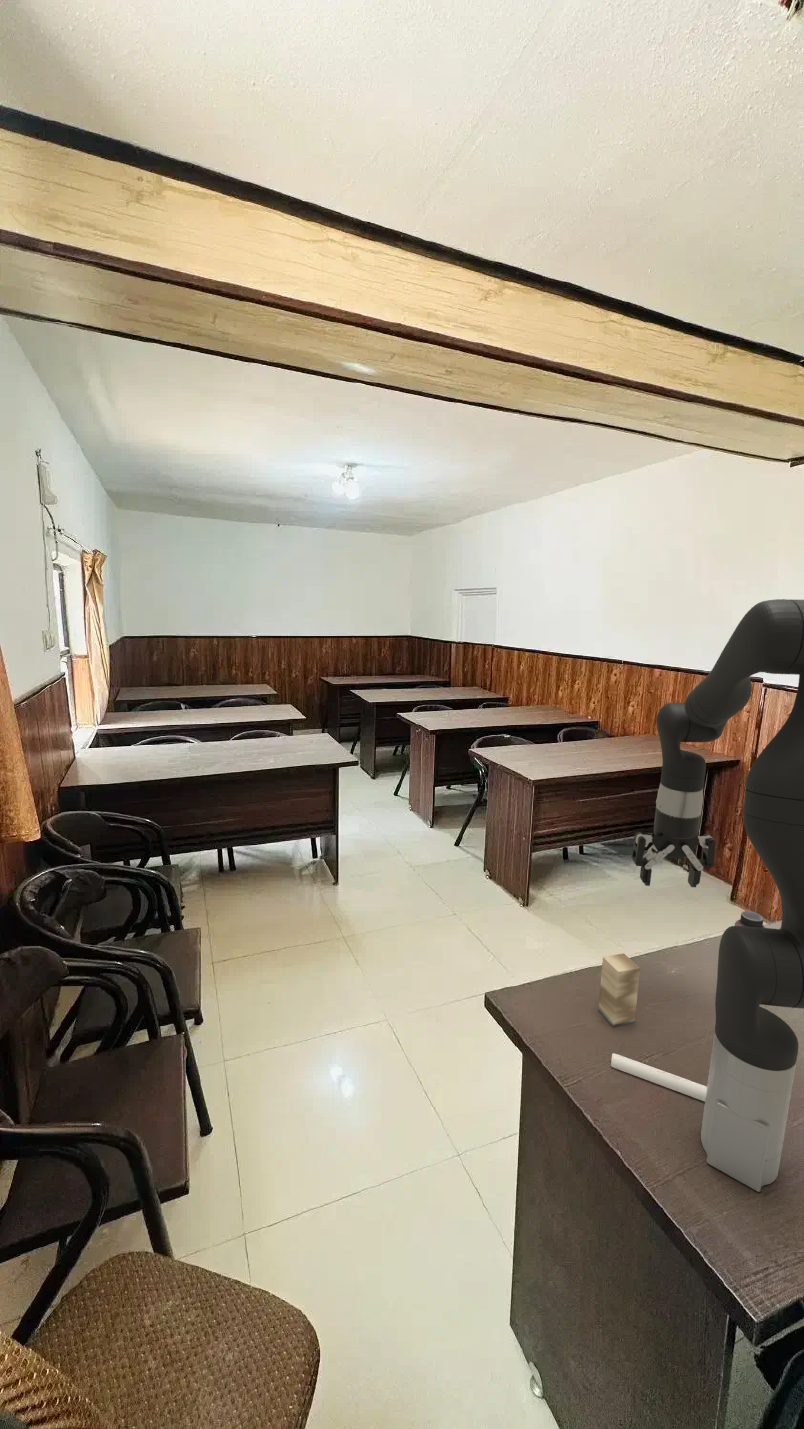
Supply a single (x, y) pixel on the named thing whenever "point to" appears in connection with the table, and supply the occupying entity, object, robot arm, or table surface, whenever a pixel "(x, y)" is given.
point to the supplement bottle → (750, 920)
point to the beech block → (619, 989)
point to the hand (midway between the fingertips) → (668, 884)
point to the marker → (659, 1077)
